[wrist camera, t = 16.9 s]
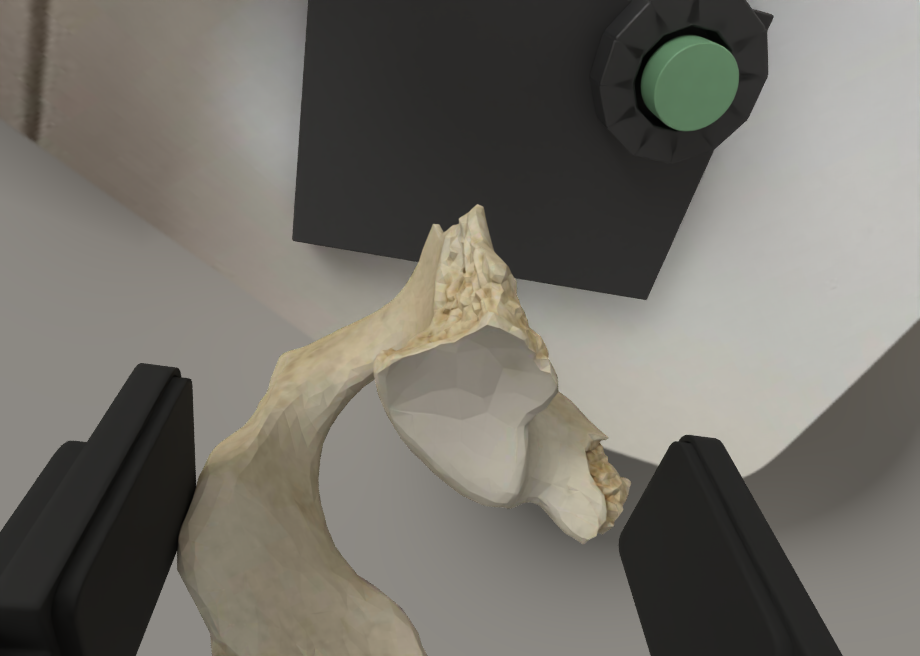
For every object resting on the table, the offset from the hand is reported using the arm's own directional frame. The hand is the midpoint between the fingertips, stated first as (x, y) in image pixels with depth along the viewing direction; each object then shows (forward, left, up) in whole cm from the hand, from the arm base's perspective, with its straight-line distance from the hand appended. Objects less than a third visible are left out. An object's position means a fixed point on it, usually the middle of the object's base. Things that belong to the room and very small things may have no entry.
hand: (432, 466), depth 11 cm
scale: (-3, -2, -17) cm, 18 cm away
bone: (0, 0, -5) cm, 5 cm away
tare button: (-8, -5, -15) cm, 17 cm away
